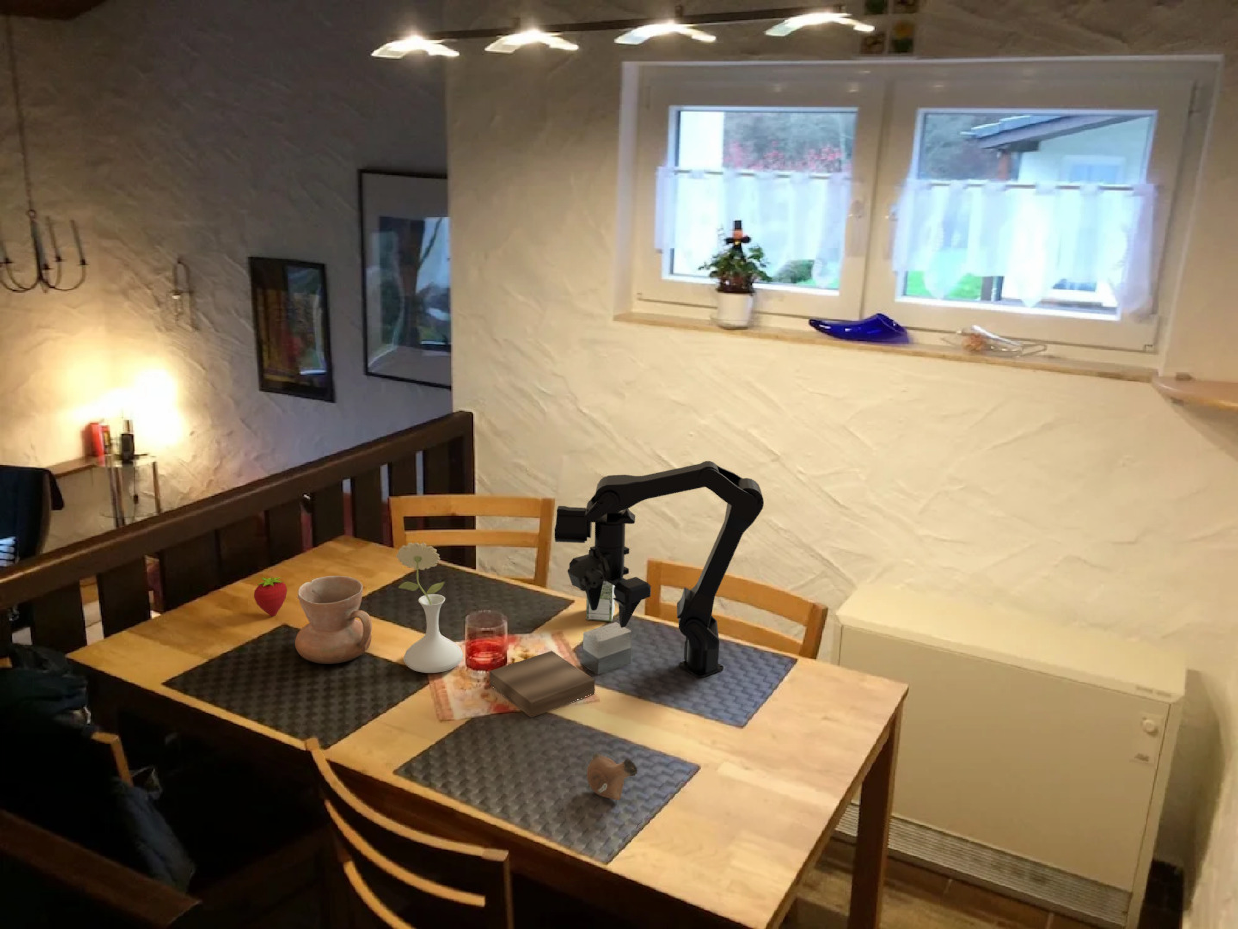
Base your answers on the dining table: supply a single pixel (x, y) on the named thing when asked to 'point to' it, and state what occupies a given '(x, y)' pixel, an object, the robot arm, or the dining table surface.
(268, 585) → the strawberry
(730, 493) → the robot arm
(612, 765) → the oil lamp
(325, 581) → the ceramic jug
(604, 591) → the syrup box
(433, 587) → the flower in vase
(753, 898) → the dining table surface
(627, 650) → the housing
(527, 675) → the stand
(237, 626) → the dining table surface
